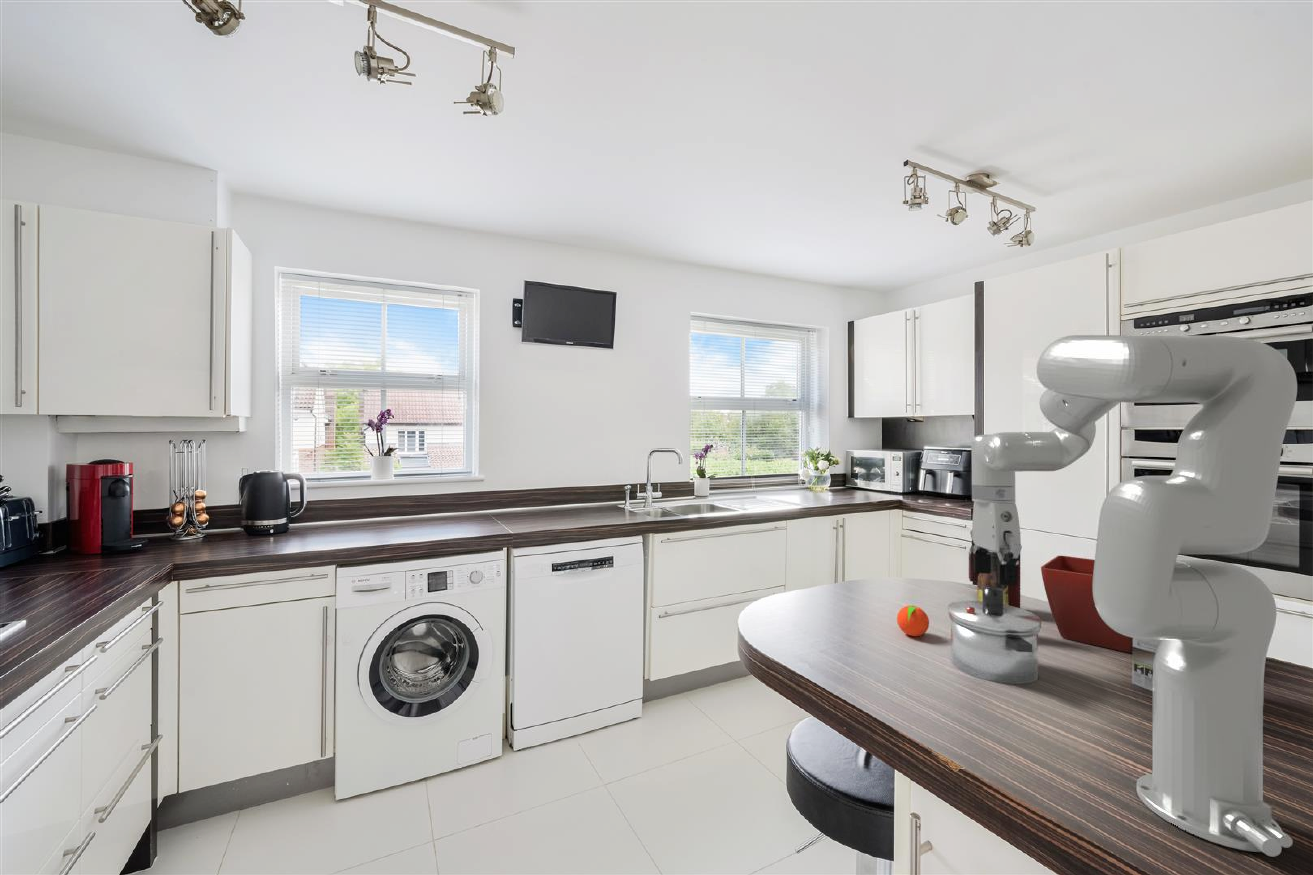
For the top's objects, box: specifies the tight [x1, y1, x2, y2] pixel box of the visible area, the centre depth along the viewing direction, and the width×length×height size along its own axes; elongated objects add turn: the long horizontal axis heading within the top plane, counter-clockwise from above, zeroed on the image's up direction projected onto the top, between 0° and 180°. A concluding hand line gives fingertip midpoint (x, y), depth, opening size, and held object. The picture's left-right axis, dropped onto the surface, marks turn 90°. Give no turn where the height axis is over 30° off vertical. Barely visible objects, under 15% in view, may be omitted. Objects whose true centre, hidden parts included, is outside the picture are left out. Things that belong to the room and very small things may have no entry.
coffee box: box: [1131, 638, 1161, 693], centre depth 99 cm, size 9×6×16 cm
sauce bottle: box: [978, 551, 1008, 605], centre depth 127 cm, size 6×6×20 cm
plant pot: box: [1040, 555, 1133, 654], centre depth 123 cm, size 19×19×17 cm
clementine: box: [896, 605, 930, 637], centre depth 125 cm, size 8×7×7 cm
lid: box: [947, 586, 1042, 633], centre depth 108 cm, size 16×16×6 cm
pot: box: [948, 614, 1041, 685], centre depth 108 cm, size 22×16×10 cm
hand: (994, 578), depth 107 cm, fingers open, 9 cm apart
